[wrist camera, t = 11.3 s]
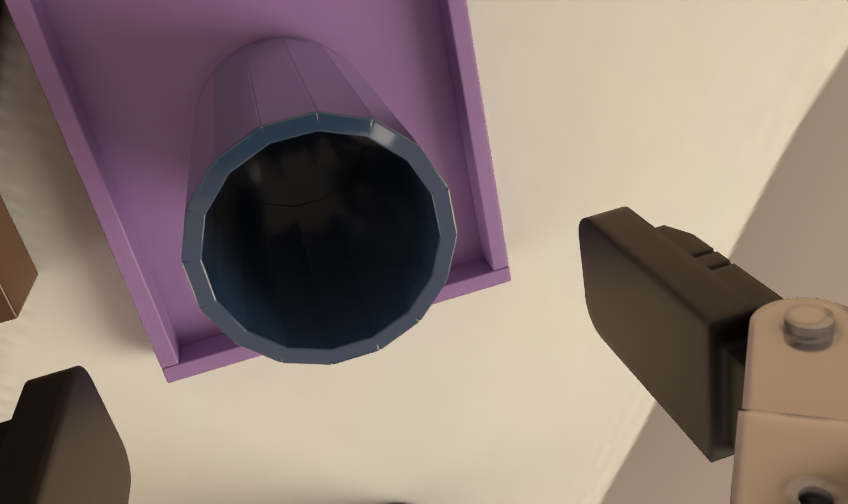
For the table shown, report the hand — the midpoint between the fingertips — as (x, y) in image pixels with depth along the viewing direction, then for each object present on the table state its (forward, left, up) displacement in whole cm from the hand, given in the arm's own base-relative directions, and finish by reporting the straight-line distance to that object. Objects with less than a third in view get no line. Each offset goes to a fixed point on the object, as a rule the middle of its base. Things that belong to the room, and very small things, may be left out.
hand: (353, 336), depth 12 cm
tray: (0, 0, -14) cm, 14 cm away
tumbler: (0, 0, -13) cm, 13 cm away
